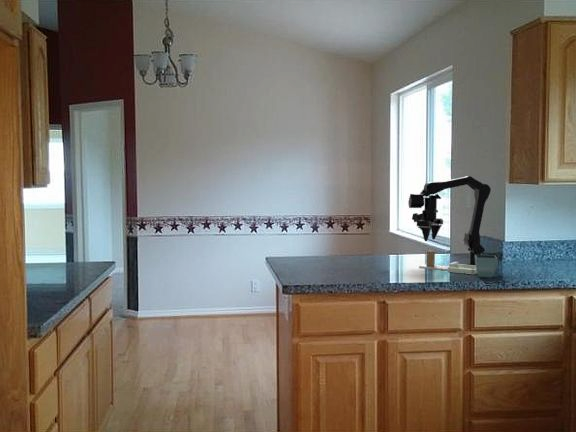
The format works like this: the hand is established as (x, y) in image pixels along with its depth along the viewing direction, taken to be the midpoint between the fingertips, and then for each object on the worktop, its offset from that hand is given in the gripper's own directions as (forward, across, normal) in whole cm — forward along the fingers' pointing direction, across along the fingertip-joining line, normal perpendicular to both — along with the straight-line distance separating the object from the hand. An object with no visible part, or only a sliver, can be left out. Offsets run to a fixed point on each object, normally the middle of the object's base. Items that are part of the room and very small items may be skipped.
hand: (429, 240), depth 305 cm
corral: (+12, +8, +20) cm, 25 cm away
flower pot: (+12, +17, +33) cm, 39 cm away
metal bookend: (+12, +8, +8) cm, 17 cm away
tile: (+13, +8, +20) cm, 25 cm away
